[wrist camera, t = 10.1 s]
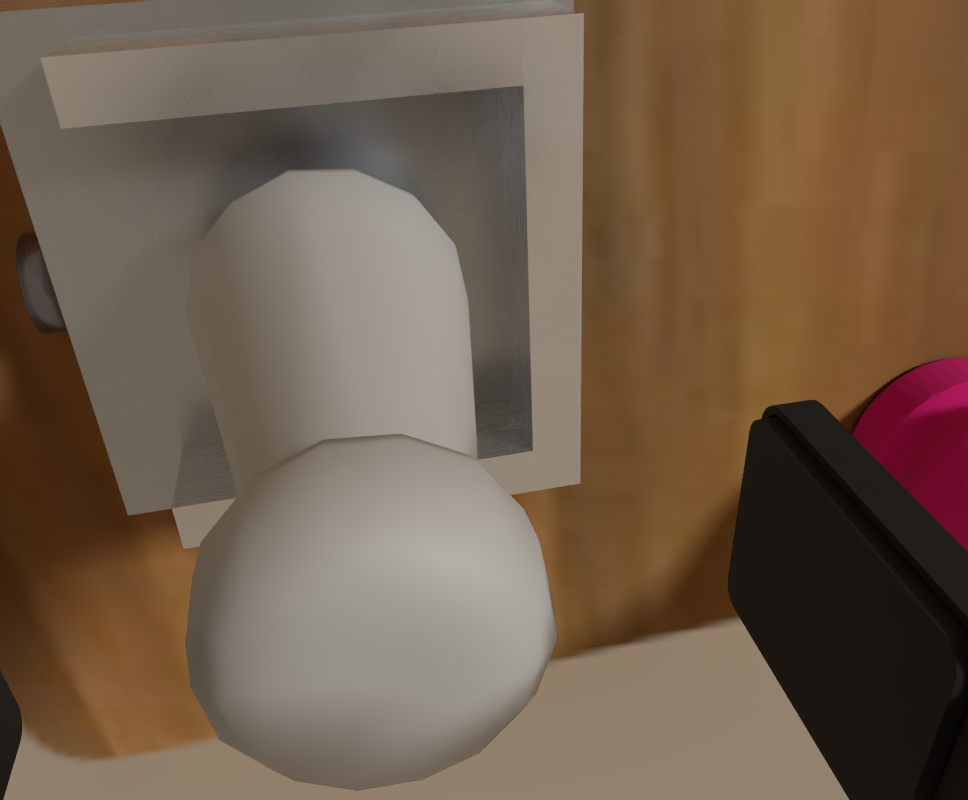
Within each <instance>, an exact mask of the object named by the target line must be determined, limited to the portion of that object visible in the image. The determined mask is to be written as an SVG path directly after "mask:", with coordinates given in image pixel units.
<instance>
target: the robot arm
mask: <svg viewBox="0 0 968 800" xmlns="http://www.w3.org/2000/svg"><path fill="white" fill-rule="evenodd" d="M728 591H729V595H730V599H731V602H732V605H733V607H734V609H735V611H736V612H737V614H738V615H739V617H740V619H741V620H742V622H743V624H744V625H745V627H746V629H747V630H748V632H749V634H750V635H751V637H752V639H753V640H754V642H755V644H756V645H757V647H758V649H759V650H760V652H761V654H762V655H763V657H764V658H765V660H766V662H767V663H768V665H769V667H770V669H771V670H772V672H773V674H774V675H775V677H776V679H777V680H778V682H779V684H780V685H781V687H782V689H783V690H784V692H785V693H786V695H787V697H788V699H789V700H790V702H791V703H792V705H793V707H794V708H795V710H796V712H797V713H798V715H799V717H800V718H801V720H802V722H803V723H804V725H805V727H806V728H807V730H808V732H809V733H810V735H811V736H812V738H813V740H814V742H815V743H816V745H817V747H818V748H819V750H820V752H821V753H822V755H823V757H824V758H825V760H826V762H827V763H828V765H829V766H830V768H831V770H832V772H833V773H834V775H835V777H836V778H837V780H838V782H839V783H840V785H841V786H842V788H843V790H844V791H845V793H846V795H847V796H848V798H849V800H968V551H967V550H966V549H965V548H964V547H963V546H962V545H961V544H960V543H959V542H958V541H957V540H956V539H955V538H954V537H953V536H952V535H951V534H950V533H949V532H948V531H947V530H946V529H945V528H944V527H943V526H942V525H941V524H940V523H939V522H938V521H937V520H936V519H935V518H934V517H933V516H932V515H931V514H930V513H929V512H928V511H927V510H926V509H925V508H924V507H923V506H922V505H921V504H920V503H919V502H918V501H917V500H916V499H915V498H914V497H913V496H912V495H911V494H910V493H909V492H908V491H907V490H906V489H905V488H904V487H903V486H902V485H901V484H900V483H899V482H898V481H897V480H896V479H895V478H894V477H893V476H892V475H891V474H890V473H889V472H888V471H887V470H886V468H885V467H884V466H883V465H882V464H881V463H880V462H879V461H878V460H877V459H876V458H875V457H874V456H873V455H872V454H871V453H870V452H869V451H868V450H867V449H866V448H865V447H864V446H863V445H862V444H861V443H860V442H859V441H858V440H857V439H856V438H855V437H854V436H853V435H852V434H851V433H850V432H849V431H848V430H847V429H846V428H845V427H844V426H843V425H842V424H841V423H840V422H839V421H838V420H837V419H836V418H835V417H834V416H833V415H832V414H831V413H830V412H829V411H828V410H827V409H826V408H825V407H824V406H823V405H822V404H821V403H819V402H818V401H815V400H807V401H800V402H794V403H787V404H780V405H774V406H770V407H768V408H766V410H765V411H764V413H763V415H762V419H760V420H756V421H754V422H753V423H752V425H751V428H750V432H749V439H748V445H747V452H746V459H745V466H744V473H743V479H742V486H741V493H740V500H739V507H738V513H737V520H736V527H735V534H734V541H733V547H732V554H731V561H730V568H729V575H728ZM21 735H22V718H21V713H20V709H19V707H18V704H17V702H16V700H15V698H14V696H13V694H12V692H11V690H10V688H9V686H8V684H7V682H6V680H5V679H4V677H3V675H2V673H1V671H0V800H3V798H4V795H5V791H6V788H7V785H8V781H9V778H10V774H11V771H12V768H13V765H14V761H15V758H16V754H17V751H18V748H19V744H20V740H21Z"/></svg>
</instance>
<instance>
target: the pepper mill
mask: <svg viewBox="0 0 968 800" xmlns="http://www.w3.org/2000/svg"><path fill="white" fill-rule="evenodd" d="M852 435H853V436H854V437H855V438H856V439H857V440H858V441H859V442H860V443H861V444H862V445H863V446H864V447H865V448H866V449H867V450H868V451H869V452H870V453H871V454H872V455H873V456H874V457H875V458H876V459H877V460H878V461H879V462H880V463H881V464H882V465H883V466H884V467H885V468H886V470H887V471H888V472H889V473H890V474H891V475H892V476H893V477H894V478H895V479H896V480H897V481H898V482H899V483H900V484H901V485H902V486H903V487H904V488H905V489H906V490H907V491H908V492H909V493H910V494H911V495H912V496H913V497H914V498H915V499H916V500H917V501H918V502H919V503H920V504H921V505H922V506H923V507H924V508H925V509H926V510H927V511H928V512H929V513H930V514H931V515H932V516H933V517H934V518H935V519H936V520H937V521H938V522H939V523H940V524H941V525H942V526H943V527H944V528H945V529H946V530H947V531H948V532H949V533H950V534H951V535H952V536H953V537H954V538H955V539H956V540H957V541H958V542H959V543H960V544H961V545H962V546H963V547H964V548H965V549H966V550H967V551H968V358H951V359H941V360H938V361H934V362H931V363H928V364H925V365H922V366H919V367H918V368H916V369H914V370H912V371H910V372H908V373H907V374H905V375H903V376H901V377H899V378H898V379H896V380H895V381H894V382H893V383H892V384H890V385H889V386H888V387H887V388H886V389H884V390H883V391H882V392H881V393H880V394H879V395H878V396H877V397H876V398H875V400H874V401H873V402H872V403H871V404H870V405H869V406H868V407H867V408H866V410H865V412H864V413H863V415H862V417H861V418H860V420H859V422H858V423H857V425H856V427H855V429H854V430H853V432H852Z"/></svg>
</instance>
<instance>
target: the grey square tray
mask: <svg viewBox="0 0 968 800" xmlns="http://www.w3.org/2000/svg"><path fill="white" fill-rule="evenodd" d="M583 49H584V13H582V12H579V11H577V10H574V0H3V1H0V125H1V128H2V131H3V134H4V137H5V140H6V143H7V146H8V149H9V152H10V155H11V158H12V161H13V164H14V168H15V171H16V174H17V177H18V180H19V183H20V186H21V189H22V192H23V195H24V198H25V201H26V204H27V207H28V211H29V214H30V217H31V220H32V223H33V226H34V229H35V232H26V233H23V234H22V235H21V236H20V238H19V241H18V245H17V254H16V260H17V272H18V279H19V284H20V289H21V293H22V296H23V300H24V303H25V306H26V308H27V311H28V313H29V315H30V317H31V319H32V321H33V323H34V324H35V326H36V327H37V328H38V329H39V330H40V331H41V332H42V333H46V334H48V333H56V332H63V331H68V333H69V336H70V339H71V342H72V345H73V349H74V352H75V355H76V358H77V361H78V364H79V367H80V370H81V373H82V376H83V379H84V382H85V385H86V388H87V392H88V395H89V398H90V401H91V404H92V407H93V410H94V413H95V416H96V419H97V422H98V425H99V428H100V431H101V434H102V438H103V441H104V444H105V447H106V450H107V453H108V456H109V459H110V462H111V465H112V468H113V471H114V474H115V477H116V480H117V484H118V487H119V490H120V493H121V496H122V499H123V502H124V505H125V508H126V511H127V514H128V516H129V515H135V514H141V513H148V512H154V511H160V510H167V509H172V511H173V514H174V518H175V521H176V524H177V528H178V531H179V535H180V538H181V542H182V545H183V548H184V549H186V548H192V547H198V546H200V544H201V541H202V540H203V539H204V538H205V536H206V535H207V534H208V533H209V531H210V530H211V529H212V528H213V526H214V525H215V524H216V523H217V521H218V520H219V519H220V518H221V516H222V515H223V514H224V513H225V512H226V510H227V509H228V508H229V507H230V505H231V504H232V503H233V502H234V501H235V499H236V498H237V497H238V494H237V490H236V486H235V482H234V478H233V475H232V472H231V468H230V465H229V461H228V458H227V454H226V451H225V448H224V444H223V441H222V437H221V434H220V430H219V427H218V424H217V420H216V417H215V413H214V410H213V406H212V403H211V400H210V396H209V393H208V389H207V386H206V382H205V379H204V376H203V372H202V369H201V365H200V362H199V358H198V355H197V351H196V348H195V345H194V341H193V338H192V334H191V331H190V327H189V324H188V321H187V317H186V314H187V300H188V287H189V273H190V260H191V255H192V254H193V253H194V251H195V250H196V249H197V247H198V246H199V244H200V243H201V242H202V240H203V239H204V238H205V236H206V235H207V234H208V232H209V231H210V229H211V228H212V227H213V225H214V224H215V223H216V221H217V220H218V219H219V217H220V216H221V214H222V213H223V212H224V210H225V209H226V208H227V206H228V205H229V204H230V203H231V202H232V201H233V200H234V199H236V198H238V197H239V196H241V195H243V194H245V193H247V192H249V191H250V190H252V189H254V188H256V187H258V186H260V185H261V184H263V183H265V182H267V181H269V180H271V179H272V178H274V177H276V176H278V175H280V174H282V173H283V172H285V171H287V170H300V169H356V170H358V171H361V172H363V173H365V174H367V175H370V176H372V177H374V178H377V179H379V180H381V181H384V182H386V183H388V184H391V185H393V186H395V187H398V188H400V189H402V190H405V191H407V192H409V193H411V194H412V195H413V196H415V197H416V198H417V199H418V201H419V202H420V203H421V204H422V205H423V207H424V208H425V209H426V210H427V211H428V213H429V214H430V215H431V216H432V217H433V219H434V220H435V221H436V222H437V223H438V225H439V226H440V227H441V228H442V229H443V231H444V232H445V233H446V234H447V235H448V237H449V238H450V239H451V240H452V241H453V243H454V244H455V245H456V250H457V254H458V258H459V263H460V267H461V271H462V276H463V280H464V284H465V289H466V293H467V297H468V305H469V322H470V338H471V355H472V371H473V387H474V404H475V420H476V436H477V453H478V463H479V464H480V465H481V466H482V467H483V468H484V469H485V470H486V471H487V472H488V473H489V474H490V475H491V476H492V477H493V478H494V479H495V480H496V481H497V482H498V483H499V484H500V485H501V486H502V487H503V488H504V489H505V490H506V492H507V493H508V494H509V495H512V494H518V493H525V492H531V491H537V490H543V489H549V488H555V487H561V486H567V485H573V484H579V483H580V443H581V312H582V181H583Z"/></svg>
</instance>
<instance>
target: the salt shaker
mask: <svg viewBox="0 0 968 800" xmlns="http://www.w3.org/2000/svg"><path fill="white" fill-rule="evenodd" d="M186 317H187V321H188V324H189V327H190V331H191V334H192V338H193V341H194V345H195V348H196V351H197V355H198V358H199V362H200V365H201V369H202V372H203V376H204V379H205V382H206V386H207V389H208V393H209V396H210V400H211V403H212V406H213V410H214V413H215V417H216V420H217V424H218V427H219V430H220V434H221V437H222V441H223V444H224V448H225V451H226V454H227V458H228V461H229V465H230V468H231V472H232V475H233V478H234V482H235V486H236V490H237V494H238V497H237V498H236V499H235V501H234V502H233V503H232V504H231V505H230V507H229V508H228V509H227V510H226V512H225V513H224V514H223V515H222V516H221V518H220V519H219V520H218V521H217V523H216V524H215V525H214V526H213V528H212V529H211V530H210V531H209V533H208V534H207V535H206V536H205V538H204V539H203V540H202V541H201V544H200V548H199V552H198V556H197V561H196V565H195V569H194V573H193V577H192V585H191V595H190V604H189V614H188V623H187V632H186V642H185V646H186V654H187V662H188V670H189V678H190V686H191V688H192V690H193V692H194V694H195V696H196V698H197V699H198V701H199V703H200V705H201V707H202V709H203V710H204V712H205V714H206V716H207V718H208V720H209V722H210V723H211V725H212V727H213V729H214V731H215V733H216V734H217V736H218V738H219V740H220V741H222V742H224V743H226V744H227V745H229V746H231V747H233V748H234V749H236V750H238V751H240V752H242V753H243V754H245V755H247V756H249V757H250V758H252V759H254V760H256V761H257V762H259V763H261V764H263V765H265V766H266V767H268V768H270V769H271V770H273V771H275V772H277V773H279V774H281V775H283V776H285V777H288V778H290V779H292V780H294V781H298V782H305V783H311V784H318V785H324V786H330V787H337V788H344V789H350V790H356V791H359V790H365V789H370V788H377V787H382V786H388V785H394V784H400V783H406V782H411V781H418V780H423V779H425V778H427V777H429V776H431V775H433V774H435V773H438V772H440V771H442V770H444V769H446V768H448V767H450V766H453V765H454V764H457V763H459V762H461V761H463V760H465V759H467V758H470V757H472V756H474V755H476V754H478V753H480V752H481V751H482V750H483V749H484V748H485V747H486V746H487V745H488V744H489V743H490V742H491V741H492V740H493V739H494V738H495V737H496V736H497V735H498V734H499V733H500V732H501V731H502V730H503V729H504V728H505V727H506V726H507V725H508V724H509V723H510V722H511V721H512V720H513V719H514V718H515V717H516V716H517V715H518V714H519V713H520V712H521V710H522V709H523V708H524V707H525V706H526V705H527V703H528V702H529V701H530V700H531V699H532V698H533V696H534V695H535V694H536V692H537V689H538V687H539V684H540V682H541V679H542V677H543V674H544V672H545V669H546V667H547V664H548V661H549V659H550V656H551V654H552V651H553V649H554V646H555V644H556V641H557V638H558V635H557V628H556V621H555V614H554V607H553V600H552V595H551V591H550V586H549V582H548V578H547V573H546V569H545V565H544V560H543V556H542V552H541V547H540V543H539V540H538V538H537V536H536V533H535V531H534V529H533V527H532V525H531V523H530V521H529V519H528V517H527V515H526V513H525V511H524V509H523V508H522V507H521V506H520V505H519V504H518V503H517V502H516V501H515V500H514V499H513V498H512V497H511V496H510V495H509V494H508V493H507V492H506V490H505V489H504V488H503V487H502V486H501V485H500V484H499V483H498V482H497V481H496V480H495V479H494V478H493V477H492V476H491V475H490V474H489V473H488V472H487V471H486V470H485V469H484V468H483V467H482V466H481V465H480V464H479V463H478V453H477V436H476V420H475V404H474V387H473V371H472V355H471V338H470V322H469V305H468V297H467V293H466V289H465V284H464V280H463V276H462V271H461V267H460V263H459V258H458V254H457V250H456V245H455V244H454V243H453V241H452V240H451V239H450V238H449V237H448V235H447V234H446V233H445V232H444V231H443V229H442V228H441V227H440V226H439V225H438V223H437V222H436V221H435V220H434V219H433V217H432V216H431V215H430V214H429V213H428V211H427V210H426V209H425V208H424V207H423V205H422V204H421V203H420V202H419V201H418V199H417V198H416V197H415V196H413V195H412V194H411V193H409V192H407V191H405V190H402V189H400V188H398V187H395V186H393V185H391V184H388V183H386V182H384V181H381V180H379V179H377V178H374V177H372V176H370V175H367V174H365V173H363V172H361V171H358V170H356V169H300V170H287V171H285V172H283V173H282V174H280V175H278V176H276V177H274V178H272V179H271V180H269V181H267V182H265V183H263V184H261V185H260V186H258V187H256V188H254V189H252V190H250V191H249V192H247V193H245V194H243V195H241V196H239V197H238V198H236V199H234V200H233V201H232V202H231V203H230V204H229V205H228V206H227V208H226V209H225V210H224V212H223V213H222V214H221V216H220V217H219V219H218V220H217V221H216V223H215V224H214V225H213V227H212V228H211V229H210V231H209V232H208V234H207V235H206V236H205V238H204V239H203V240H202V242H201V243H200V244H199V246H198V247H197V249H196V250H195V251H194V253H193V254H192V255H191V260H190V273H189V287H188V300H187V314H186Z"/></svg>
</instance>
